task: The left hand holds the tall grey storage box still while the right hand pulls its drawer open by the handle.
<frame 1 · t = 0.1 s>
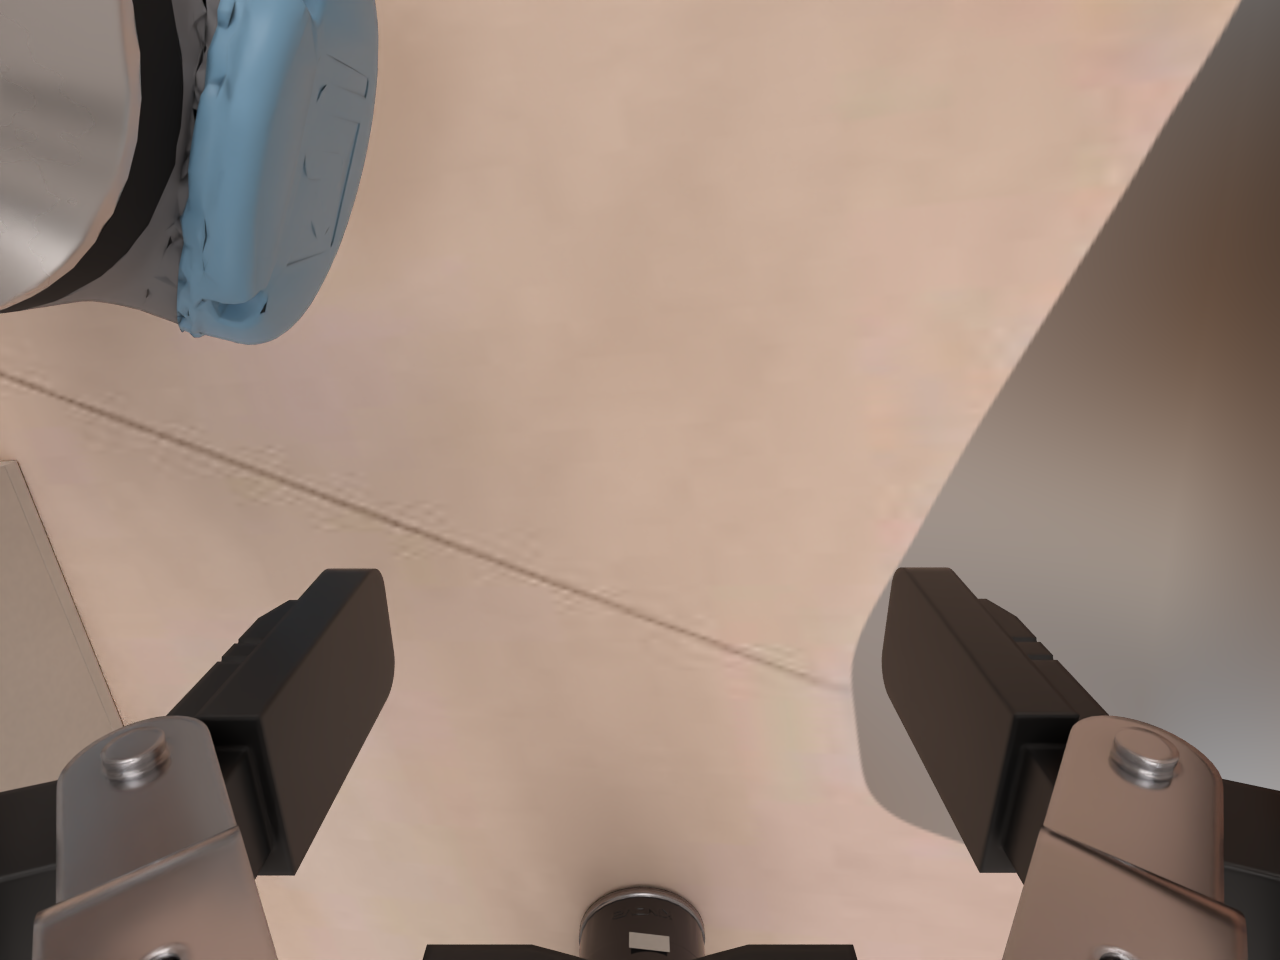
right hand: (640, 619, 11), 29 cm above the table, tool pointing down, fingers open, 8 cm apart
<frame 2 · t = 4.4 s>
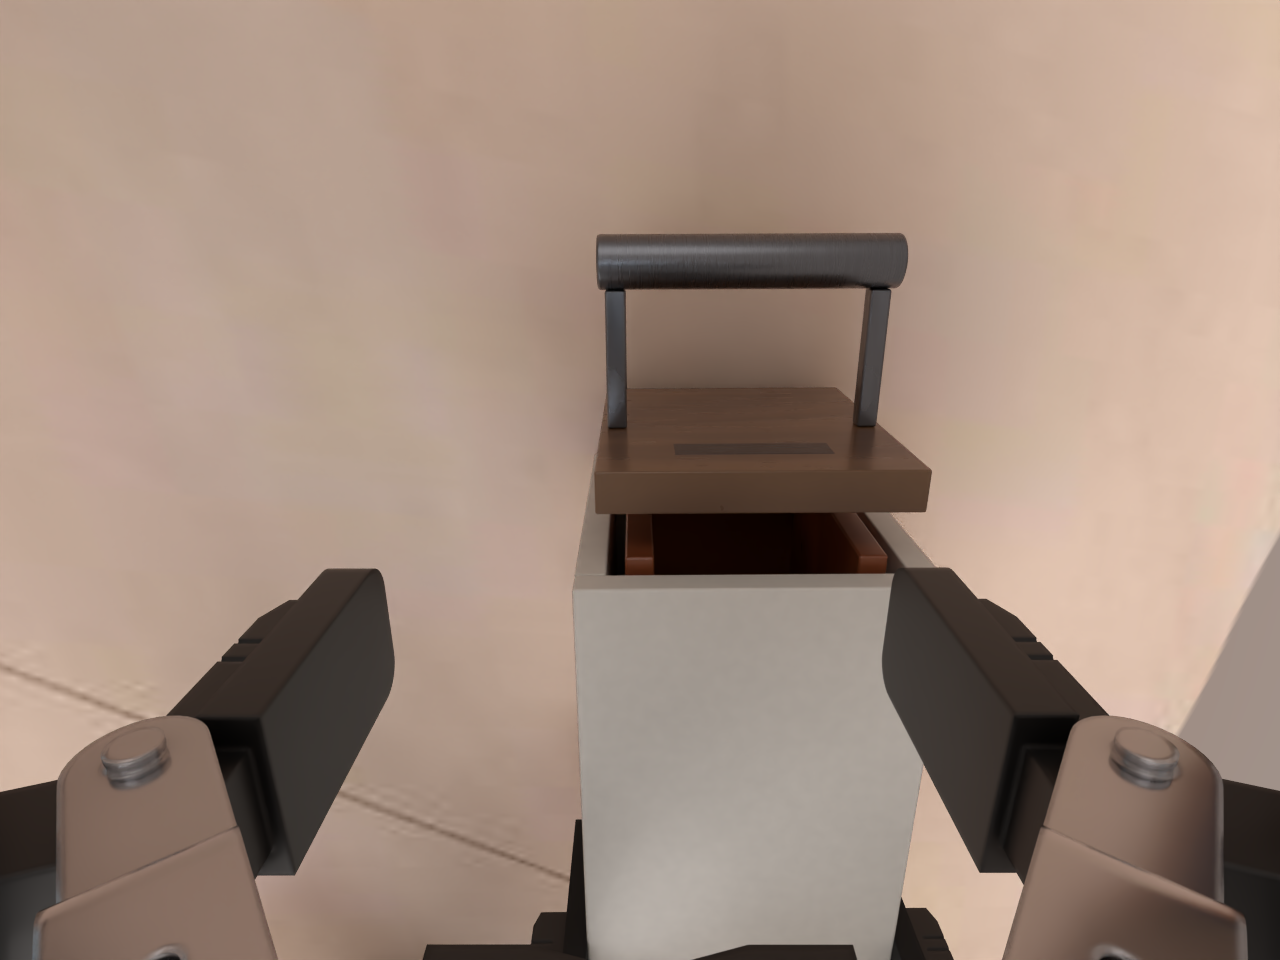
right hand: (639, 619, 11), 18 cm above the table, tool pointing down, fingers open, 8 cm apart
drawer: (731, 589, 25), point 6 cm above the table, slide at 1.7 cm
tall grey storage box: (709, 651, 32), on the table, touching left hand
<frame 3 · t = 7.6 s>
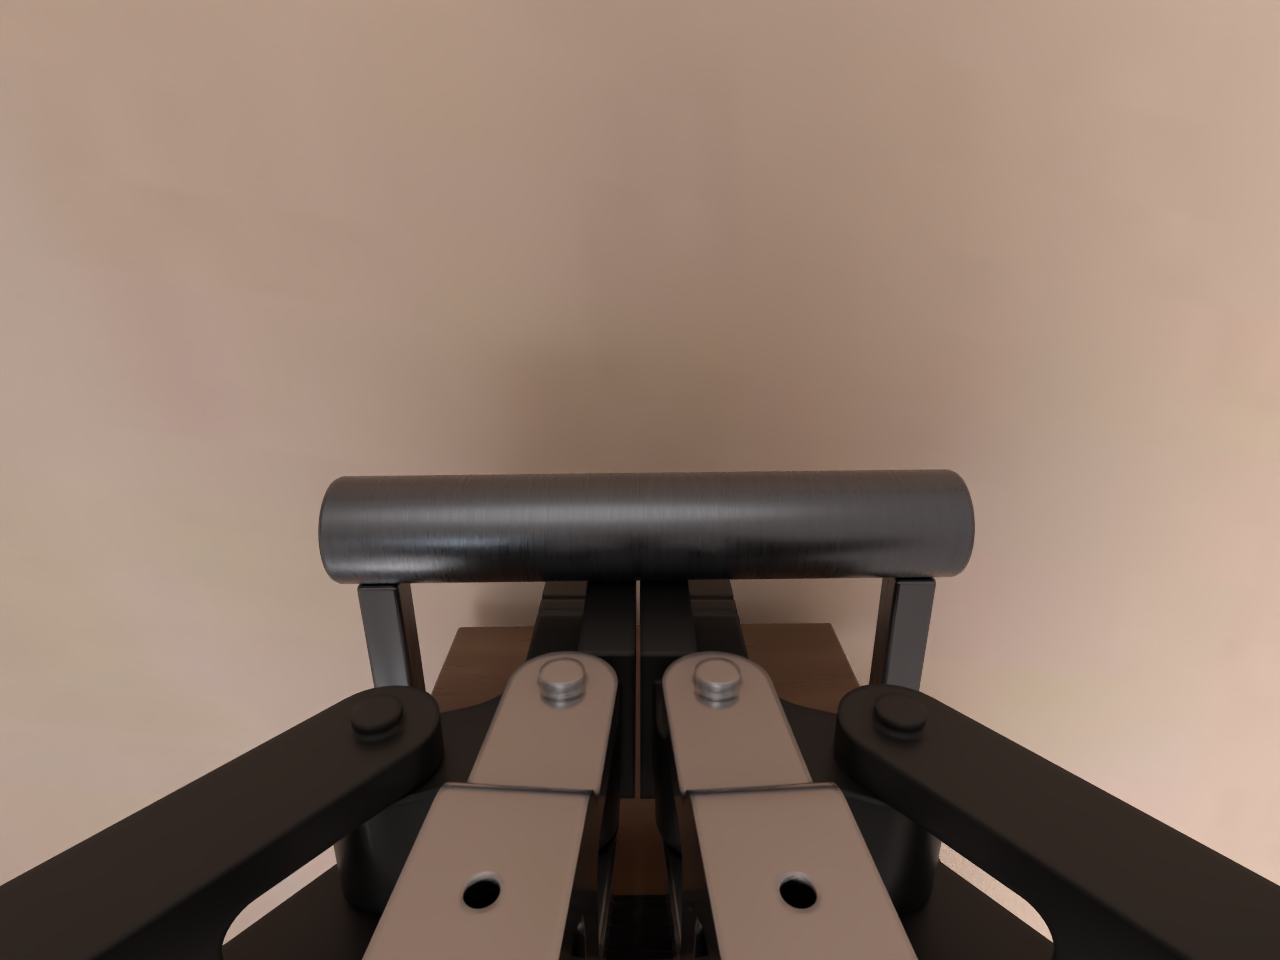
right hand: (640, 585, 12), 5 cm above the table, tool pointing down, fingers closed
when the left hand's fingers open (6 cm above the table, at t = 10.2 s): tall grey storage box stays where it is, on the table.
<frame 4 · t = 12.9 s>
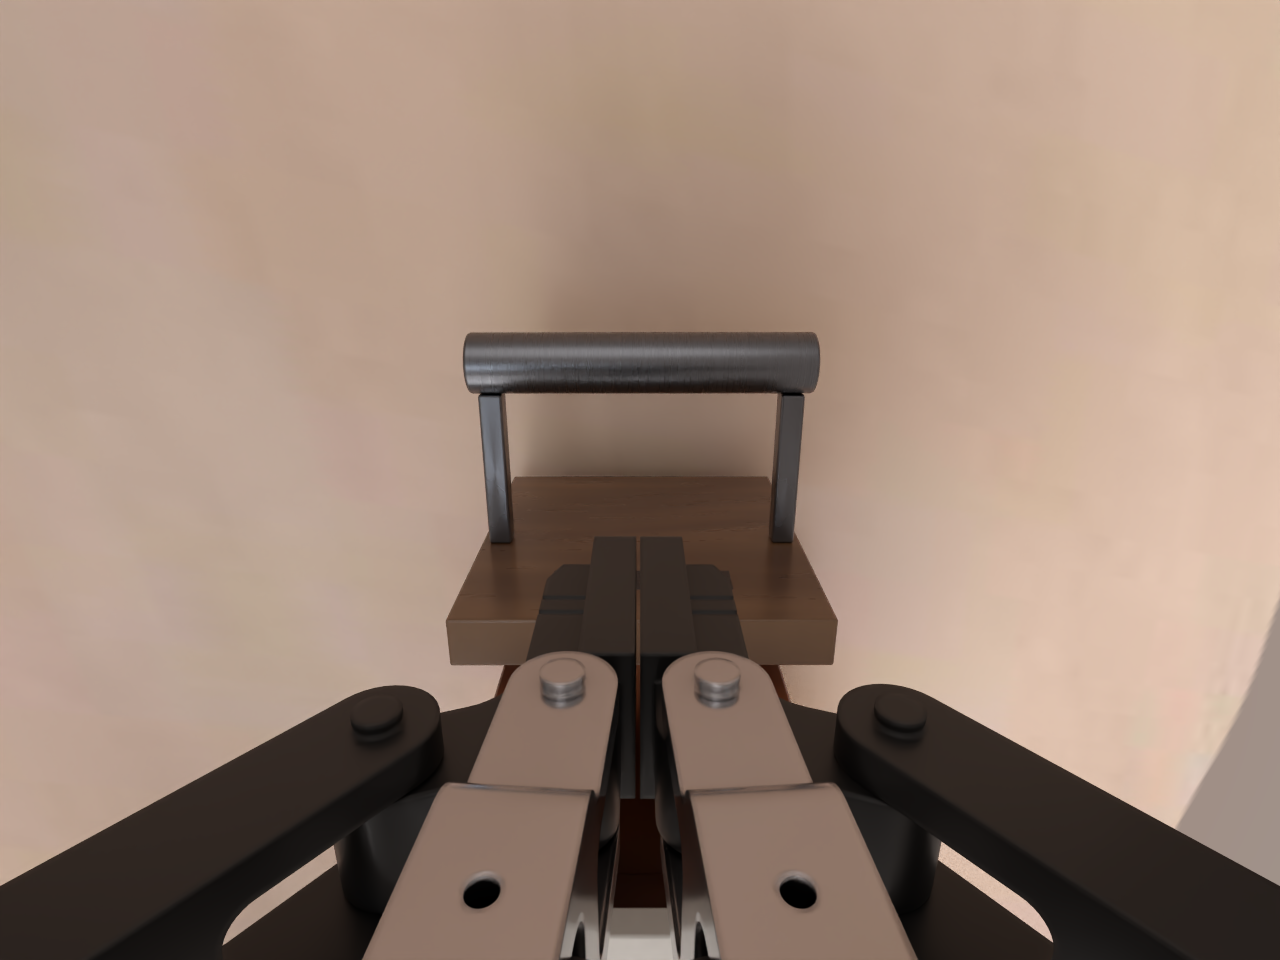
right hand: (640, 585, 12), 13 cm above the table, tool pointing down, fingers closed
drawer: (641, 709, 22), point 6 cm above the table, slide at 7.4 cm
tall grey storage box: (641, 850, 32), on the table
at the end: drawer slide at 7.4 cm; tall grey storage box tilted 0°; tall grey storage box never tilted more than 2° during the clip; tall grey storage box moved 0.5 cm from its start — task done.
